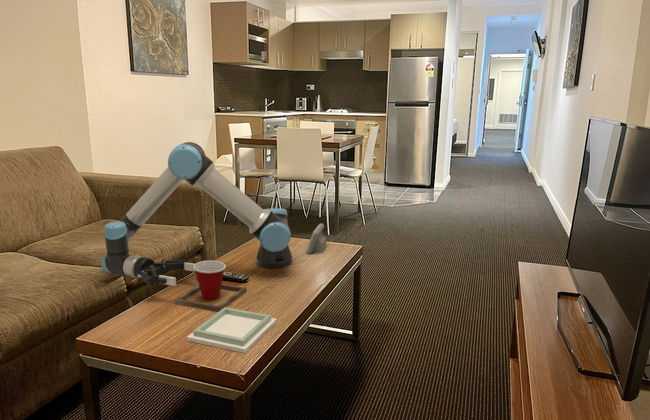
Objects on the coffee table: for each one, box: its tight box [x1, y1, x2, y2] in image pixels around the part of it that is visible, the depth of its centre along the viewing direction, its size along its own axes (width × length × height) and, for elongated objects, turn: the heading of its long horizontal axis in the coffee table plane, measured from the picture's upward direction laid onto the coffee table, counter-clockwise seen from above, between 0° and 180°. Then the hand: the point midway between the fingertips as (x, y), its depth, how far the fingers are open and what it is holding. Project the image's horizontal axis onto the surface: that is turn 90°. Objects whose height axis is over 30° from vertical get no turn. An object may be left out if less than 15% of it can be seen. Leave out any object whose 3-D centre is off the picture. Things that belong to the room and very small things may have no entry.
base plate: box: [186, 306, 278, 354], centre depth 136 cm, size 19×19×3 cm
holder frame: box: [174, 283, 247, 313], centre depth 159 cm, size 17×17×2 cm
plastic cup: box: [193, 259, 227, 302], centre depth 158 cm, size 11×11×12 cm
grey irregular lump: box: [305, 223, 327, 255], centre depth 210 cm, size 16×9×11 cm, turn 158°
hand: (188, 274), depth 161 cm, fingers open, 13 cm apart
